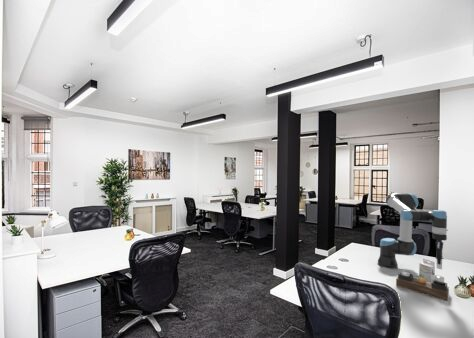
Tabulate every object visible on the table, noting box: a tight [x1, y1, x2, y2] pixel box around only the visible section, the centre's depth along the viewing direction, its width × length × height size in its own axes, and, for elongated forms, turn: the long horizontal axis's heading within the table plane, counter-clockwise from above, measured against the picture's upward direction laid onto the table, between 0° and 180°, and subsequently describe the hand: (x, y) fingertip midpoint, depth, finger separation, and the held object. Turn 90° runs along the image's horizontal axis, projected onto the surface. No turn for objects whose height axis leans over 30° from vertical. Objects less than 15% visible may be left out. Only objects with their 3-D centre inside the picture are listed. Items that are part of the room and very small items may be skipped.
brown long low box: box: [395, 271, 450, 302], centre depth 170 cm, size 12×28×8 cm, turn 45°
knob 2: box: [435, 274, 445, 284], centre depth 163 cm, size 5×5×4 cm
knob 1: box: [401, 271, 411, 277], centre depth 176 cm, size 5×5×4 cm
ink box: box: [418, 258, 436, 283], centre depth 188 cm, size 9×5×15 cm, turn 23°
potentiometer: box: [417, 277, 427, 284], centre depth 170 cm, size 4×4×3 cm
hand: (439, 268), depth 163 cm, fingers closed
